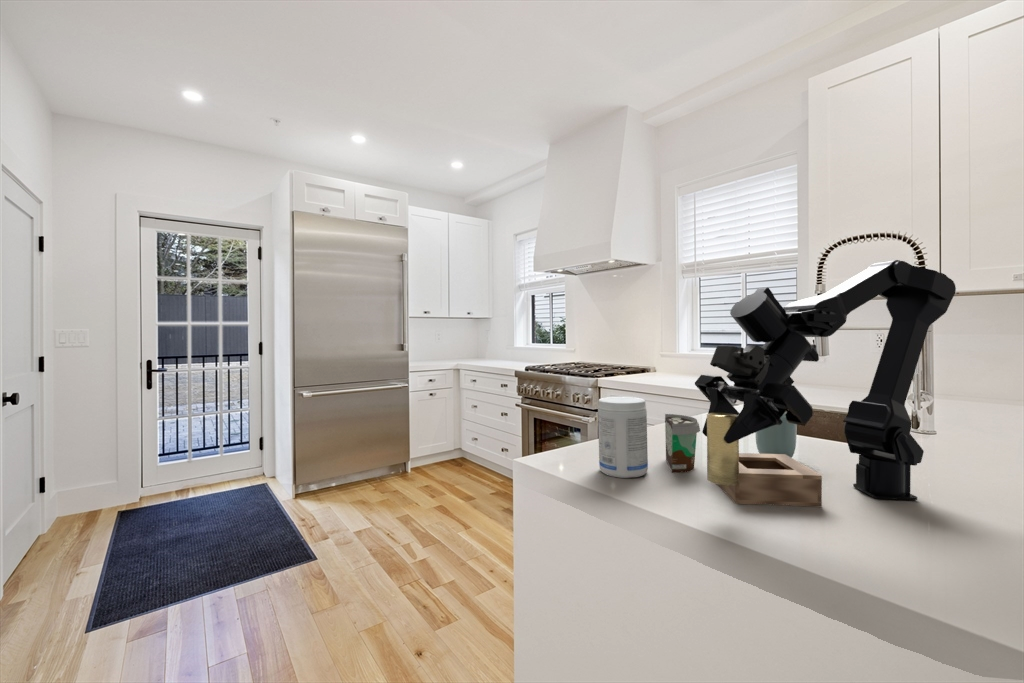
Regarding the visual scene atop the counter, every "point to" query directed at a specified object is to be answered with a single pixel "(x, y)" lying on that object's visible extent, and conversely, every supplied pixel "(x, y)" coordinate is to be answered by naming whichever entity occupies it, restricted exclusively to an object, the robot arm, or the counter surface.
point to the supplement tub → (622, 436)
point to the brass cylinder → (721, 450)
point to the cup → (777, 438)
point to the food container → (680, 442)
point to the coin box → (775, 481)
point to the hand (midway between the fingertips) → (715, 437)
